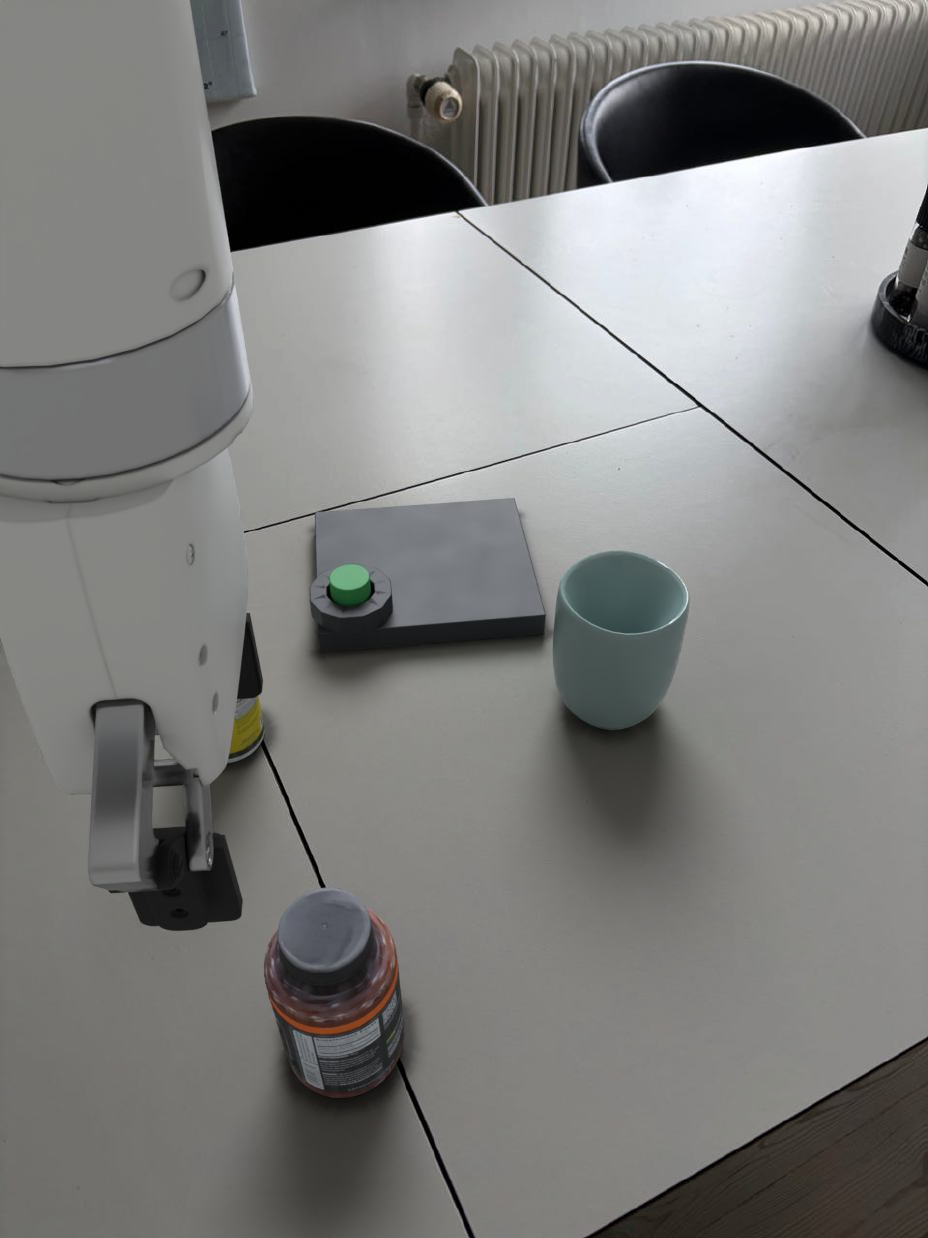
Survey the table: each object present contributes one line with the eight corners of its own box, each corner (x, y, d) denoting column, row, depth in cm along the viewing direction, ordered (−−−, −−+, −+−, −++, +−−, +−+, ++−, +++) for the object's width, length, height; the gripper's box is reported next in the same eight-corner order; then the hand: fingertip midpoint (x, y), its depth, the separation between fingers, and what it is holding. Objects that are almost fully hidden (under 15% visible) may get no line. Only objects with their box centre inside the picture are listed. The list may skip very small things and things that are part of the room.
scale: (315, 657, 70) (309, 620, 68) (312, 531, 81) (308, 495, 78) (545, 637, 72) (548, 601, 69) (513, 516, 82) (515, 480, 80)
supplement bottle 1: (175, 748, 64) (147, 655, 58) (221, 700, 67) (199, 607, 61) (235, 777, 63) (212, 684, 57) (280, 726, 66) (263, 633, 60)
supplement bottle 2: (289, 989, 52) (259, 868, 45) (403, 982, 53) (393, 860, 45) (282, 1108, 48) (247, 996, 40) (407, 1099, 48) (396, 986, 41)
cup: (525, 697, 67) (532, 585, 61) (606, 645, 71) (621, 533, 64) (609, 767, 63) (627, 655, 56) (690, 708, 67) (716, 596, 60)
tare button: (331, 608, 69) (329, 591, 68) (330, 582, 71) (328, 565, 70) (371, 605, 70) (370, 588, 68) (369, 579, 72) (368, 562, 70)
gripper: (17, 225, 30) (141, 633, 42) (-222, 611, 18) (49, 1040, 29) (267, 217, 31) (321, 623, 43) (207, 589, 18) (306, 1021, 30)
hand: (209, 794), depth 36 cm, fingers open, 9 cm apart
